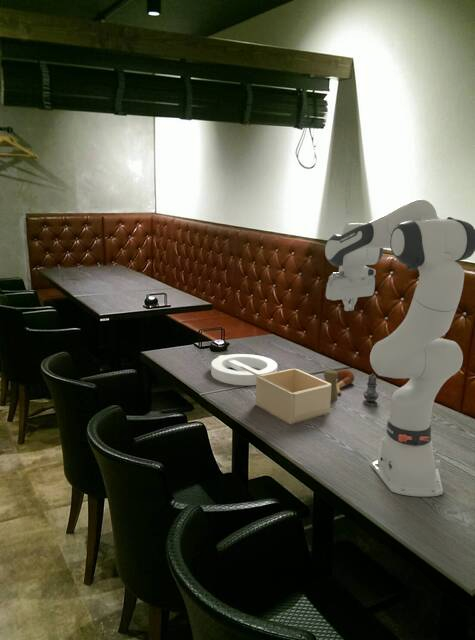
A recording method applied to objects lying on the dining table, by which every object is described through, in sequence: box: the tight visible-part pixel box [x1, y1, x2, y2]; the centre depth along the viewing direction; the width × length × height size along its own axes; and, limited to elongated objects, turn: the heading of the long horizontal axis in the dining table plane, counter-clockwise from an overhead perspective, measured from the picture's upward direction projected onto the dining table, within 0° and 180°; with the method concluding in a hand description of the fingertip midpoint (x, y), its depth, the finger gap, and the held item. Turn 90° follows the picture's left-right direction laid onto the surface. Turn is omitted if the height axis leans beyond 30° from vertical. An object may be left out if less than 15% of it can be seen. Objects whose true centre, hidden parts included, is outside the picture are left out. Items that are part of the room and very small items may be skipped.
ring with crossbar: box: [210, 353, 278, 386], centre depth 240 cm, size 28×28×5 cm
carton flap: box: [240, 366, 290, 392], centre depth 193 cm, size 1×18×9 cm
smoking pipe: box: [336, 369, 355, 396], centre depth 226 cm, size 7×18×6 cm, turn 167°
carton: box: [255, 368, 332, 425], centre depth 203 cm, size 19×21×11 cm
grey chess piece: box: [362, 372, 380, 406], centre depth 211 cm, size 6×6×12 cm
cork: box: [323, 369, 338, 402], centre depth 214 cm, size 6×6×11 cm
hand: (348, 310), depth 196 cm, fingers closed
